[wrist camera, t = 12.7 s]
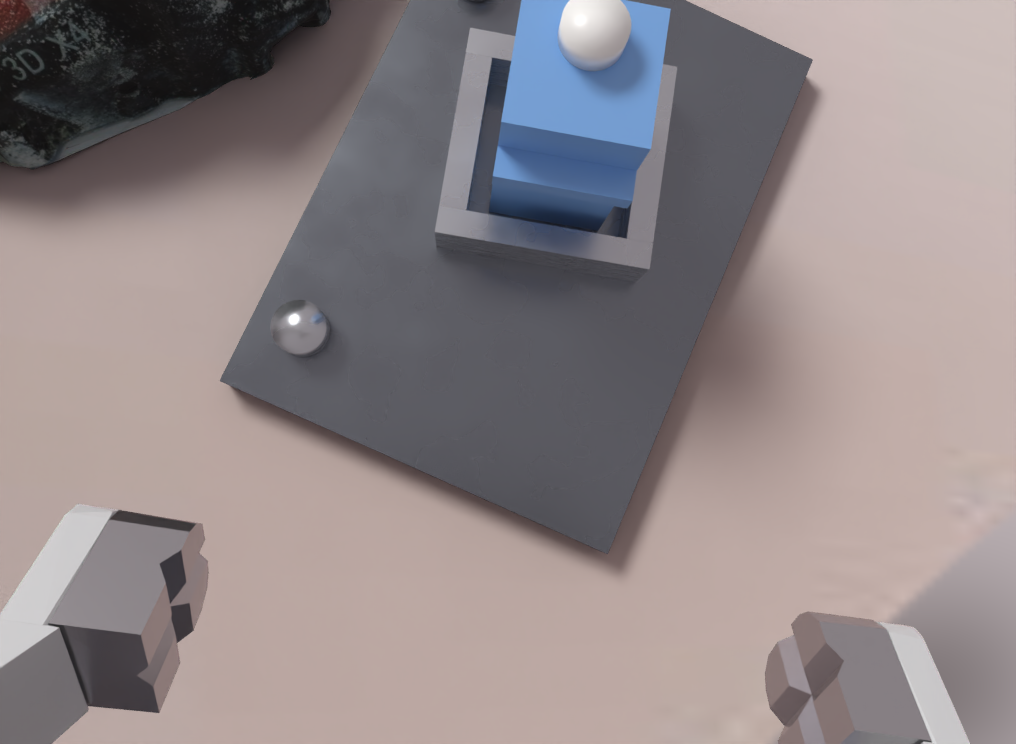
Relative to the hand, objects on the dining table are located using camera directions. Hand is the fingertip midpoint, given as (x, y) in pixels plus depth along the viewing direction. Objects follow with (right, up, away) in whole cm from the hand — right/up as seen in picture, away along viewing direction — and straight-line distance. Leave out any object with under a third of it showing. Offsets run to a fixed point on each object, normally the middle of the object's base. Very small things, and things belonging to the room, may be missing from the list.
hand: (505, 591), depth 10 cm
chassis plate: (+1, +9, +20) cm, 22 cm away
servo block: (+2, +11, +19) cm, 22 cm away
